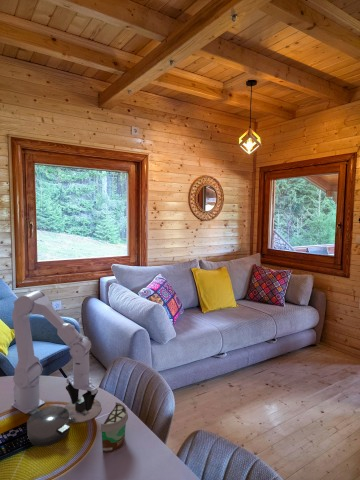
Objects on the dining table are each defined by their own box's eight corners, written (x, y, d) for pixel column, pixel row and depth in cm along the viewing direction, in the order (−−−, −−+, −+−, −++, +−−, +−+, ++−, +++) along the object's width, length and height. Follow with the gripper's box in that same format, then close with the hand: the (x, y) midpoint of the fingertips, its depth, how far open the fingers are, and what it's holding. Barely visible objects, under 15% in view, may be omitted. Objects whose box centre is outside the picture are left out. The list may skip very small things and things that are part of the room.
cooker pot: (14, 433, 106) (14, 418, 105) (49, 412, 117) (48, 399, 116) (48, 455, 96) (47, 440, 96) (82, 430, 107) (82, 417, 107)
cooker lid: (53, 414, 116) (53, 403, 116) (84, 396, 128) (83, 385, 128) (79, 429, 109) (79, 416, 108) (109, 408, 121) (109, 396, 120)
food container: (119, 459, 95) (119, 428, 94) (100, 456, 96) (100, 425, 96) (133, 431, 107) (133, 403, 106) (116, 428, 108) (116, 401, 108)
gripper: (103, 372, 116) (103, 407, 118) (76, 361, 124) (77, 394, 125) (88, 380, 110) (88, 417, 112) (61, 369, 118) (62, 403, 119)
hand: (81, 406), depth 118 cm, fingers open, 7 cm apart
